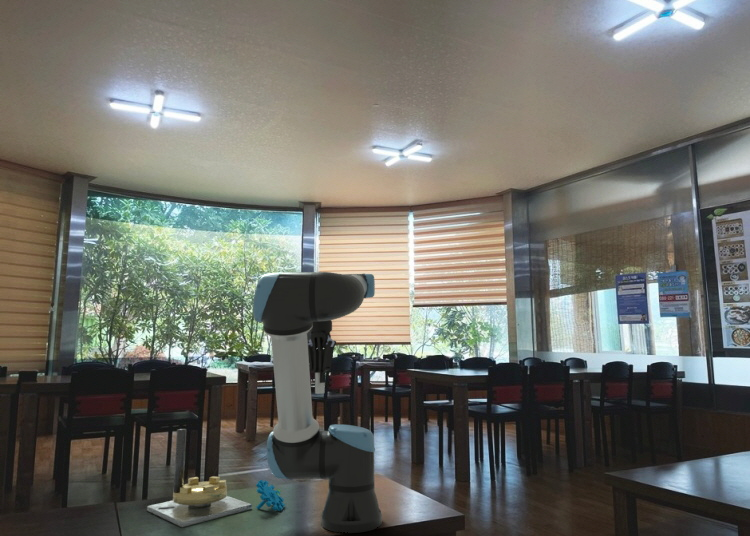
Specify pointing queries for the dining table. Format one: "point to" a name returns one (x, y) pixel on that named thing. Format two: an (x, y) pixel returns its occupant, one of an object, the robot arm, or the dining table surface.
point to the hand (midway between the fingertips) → (319, 393)
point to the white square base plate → (197, 511)
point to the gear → (269, 496)
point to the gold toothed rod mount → (194, 481)
